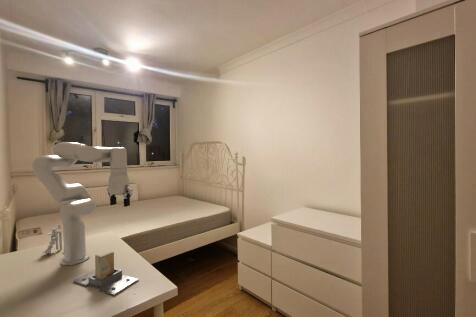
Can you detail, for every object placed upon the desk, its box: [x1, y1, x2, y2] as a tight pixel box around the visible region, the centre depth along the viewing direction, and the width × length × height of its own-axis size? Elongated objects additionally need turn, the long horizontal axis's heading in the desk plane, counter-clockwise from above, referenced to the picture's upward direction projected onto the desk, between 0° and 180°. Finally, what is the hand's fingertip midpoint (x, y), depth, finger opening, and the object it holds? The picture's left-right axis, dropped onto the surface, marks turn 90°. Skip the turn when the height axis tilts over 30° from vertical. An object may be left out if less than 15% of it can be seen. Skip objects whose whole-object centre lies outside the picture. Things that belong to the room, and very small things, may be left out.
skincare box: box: [94, 249, 115, 280], centre depth 102 cm, size 6×4×12 cm
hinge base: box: [73, 267, 139, 297], centre depth 102 cm, size 26×12×4 cm, turn 66°
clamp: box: [42, 224, 63, 255], centre depth 134 cm, size 4×10×15 cm, turn 167°
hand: (120, 205), depth 117 cm, fingers open, 9 cm apart
